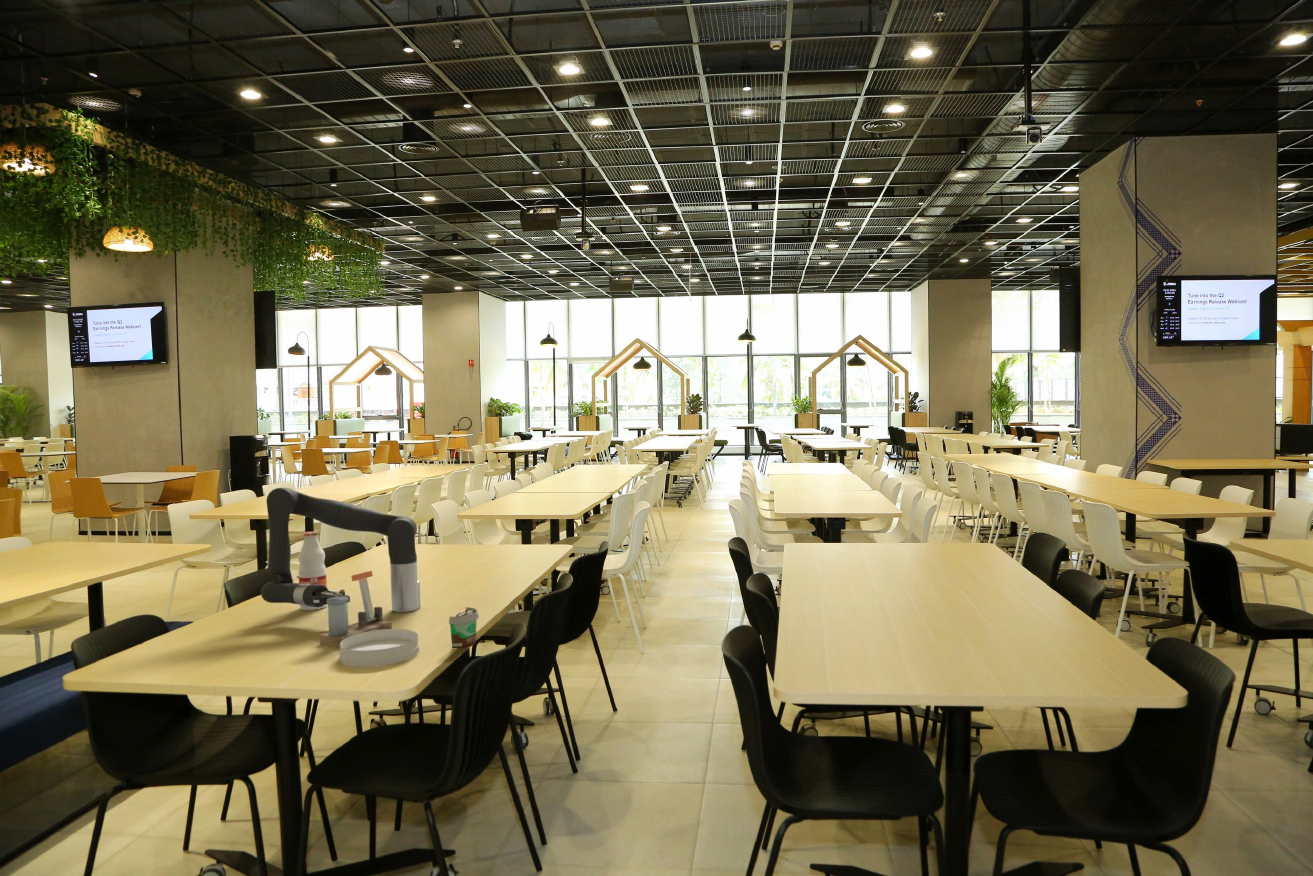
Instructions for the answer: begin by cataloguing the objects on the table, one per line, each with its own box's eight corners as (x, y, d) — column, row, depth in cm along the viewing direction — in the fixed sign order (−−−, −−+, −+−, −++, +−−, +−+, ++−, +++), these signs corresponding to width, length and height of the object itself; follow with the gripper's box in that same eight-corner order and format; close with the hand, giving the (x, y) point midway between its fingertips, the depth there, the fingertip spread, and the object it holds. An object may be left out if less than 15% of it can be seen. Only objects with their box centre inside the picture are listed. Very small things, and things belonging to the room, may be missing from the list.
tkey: (377, 620, 262) (367, 571, 262) (381, 619, 261) (371, 570, 262) (360, 625, 255) (350, 575, 256) (365, 625, 254) (355, 574, 255)
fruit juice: (327, 603, 300) (324, 529, 299) (327, 609, 291) (324, 533, 290) (300, 606, 296) (297, 531, 295) (299, 612, 288) (296, 535, 286)
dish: (373, 673, 219) (372, 655, 218) (323, 661, 230) (322, 644, 230) (435, 651, 237) (434, 634, 237) (385, 641, 249) (385, 625, 249)
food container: (469, 651, 235) (468, 617, 235) (449, 650, 237) (448, 617, 236) (486, 639, 247) (485, 607, 247) (467, 638, 249) (466, 606, 248)
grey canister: (339, 630, 251) (338, 595, 250) (353, 632, 248) (352, 597, 248) (323, 635, 245) (322, 600, 245) (338, 637, 242) (336, 601, 242)
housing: (369, 627, 264) (368, 605, 264) (391, 630, 260) (390, 608, 259) (319, 644, 246) (318, 620, 246) (343, 648, 242) (342, 624, 241)
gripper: (294, 588, 264) (331, 592, 256) (326, 580, 276) (363, 583, 268) (295, 610, 264) (332, 615, 256) (327, 601, 276) (364, 606, 268)
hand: (348, 599), depth 262 cm, fingers closed
